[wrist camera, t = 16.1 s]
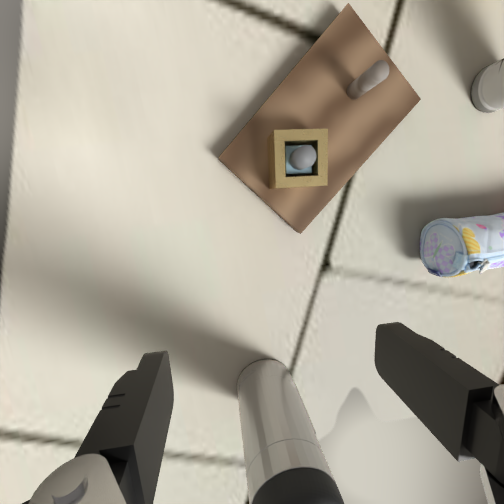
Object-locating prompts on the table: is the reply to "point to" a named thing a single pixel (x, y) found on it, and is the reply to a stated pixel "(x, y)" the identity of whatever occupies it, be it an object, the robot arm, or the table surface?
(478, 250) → the pencil case
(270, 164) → the collar
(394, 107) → the workboard
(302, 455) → the robot arm
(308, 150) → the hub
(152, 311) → the table surface
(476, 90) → the travel mug
